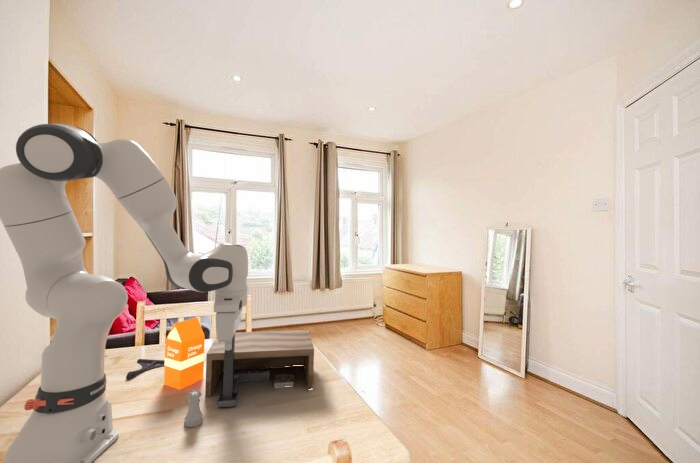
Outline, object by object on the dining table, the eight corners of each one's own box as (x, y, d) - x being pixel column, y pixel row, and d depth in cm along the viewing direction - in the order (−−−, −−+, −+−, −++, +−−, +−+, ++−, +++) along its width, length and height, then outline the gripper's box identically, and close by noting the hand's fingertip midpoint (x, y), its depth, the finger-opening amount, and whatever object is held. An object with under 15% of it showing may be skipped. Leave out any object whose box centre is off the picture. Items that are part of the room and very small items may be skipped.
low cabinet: (312, 389, 103) (314, 348, 103) (205, 397, 96) (206, 353, 96) (307, 364, 122) (308, 330, 122) (218, 369, 115) (219, 333, 116)
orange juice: (163, 384, 103) (165, 321, 104) (187, 373, 111) (189, 315, 112) (180, 389, 100) (182, 325, 100) (203, 378, 108) (205, 318, 108)
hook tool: (266, 403, 92) (269, 334, 93) (216, 407, 89) (219, 335, 90) (269, 377, 110) (271, 319, 111) (227, 380, 108) (229, 320, 108)
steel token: (293, 388, 104) (293, 382, 104) (274, 389, 103) (274, 383, 103) (292, 379, 110) (293, 374, 110) (274, 380, 109) (275, 374, 109)
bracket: (107, 380, 106) (107, 372, 106) (140, 362, 121) (140, 355, 121) (148, 383, 105) (148, 375, 105) (176, 365, 120) (176, 357, 120)
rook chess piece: (184, 419, 84) (185, 389, 85) (203, 416, 86) (204, 386, 86) (182, 429, 80) (183, 397, 80) (202, 426, 82) (203, 394, 82)
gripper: (225, 292, 103) (224, 336, 103) (212, 307, 83) (210, 361, 83) (246, 292, 104) (245, 335, 104) (237, 307, 84) (236, 360, 84)
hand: (229, 347), depth 93 cm, fingers closed on hook tool, 2 cm apart
